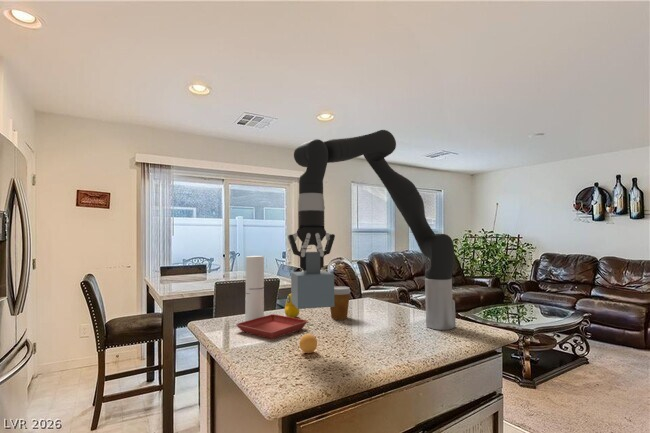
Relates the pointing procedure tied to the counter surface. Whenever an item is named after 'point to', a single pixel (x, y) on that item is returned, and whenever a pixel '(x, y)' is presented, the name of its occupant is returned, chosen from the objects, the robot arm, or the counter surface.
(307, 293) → the grey block
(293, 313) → the duckling
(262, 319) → the plant saucer
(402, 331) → the counter surface
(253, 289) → the cylindrical container
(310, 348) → the ball
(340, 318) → the disposable coffee cup
